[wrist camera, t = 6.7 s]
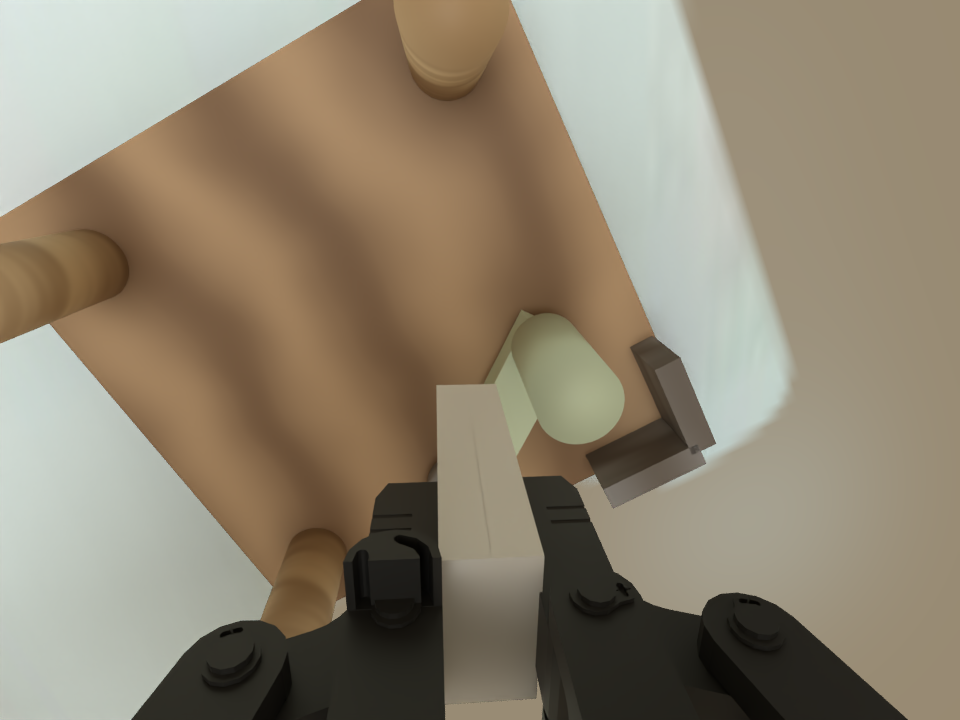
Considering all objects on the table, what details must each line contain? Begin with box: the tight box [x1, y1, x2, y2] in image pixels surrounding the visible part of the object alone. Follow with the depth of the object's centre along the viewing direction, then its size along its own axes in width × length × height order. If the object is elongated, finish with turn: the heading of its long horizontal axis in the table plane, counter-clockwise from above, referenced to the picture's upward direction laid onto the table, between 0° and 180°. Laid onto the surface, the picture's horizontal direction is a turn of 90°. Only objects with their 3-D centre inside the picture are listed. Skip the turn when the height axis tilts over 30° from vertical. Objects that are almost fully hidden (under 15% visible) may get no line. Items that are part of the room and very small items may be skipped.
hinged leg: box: [427, 310, 625, 482], centre depth 22 cm, size 11×3×7 cm, turn 154°
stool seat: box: [0, 0, 716, 639], centre depth 21 cm, size 22×22×10 cm
